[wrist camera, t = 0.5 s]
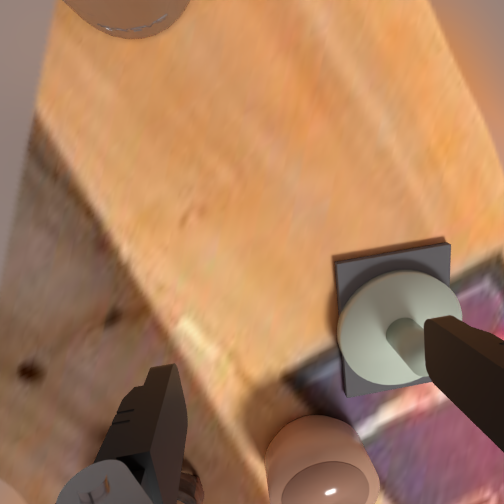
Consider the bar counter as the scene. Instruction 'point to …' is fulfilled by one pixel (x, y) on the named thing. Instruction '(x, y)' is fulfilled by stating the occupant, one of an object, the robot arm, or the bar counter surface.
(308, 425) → the bowl
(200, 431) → the bar counter surface
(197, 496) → the pottery mug
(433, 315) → the lid
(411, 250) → the mat
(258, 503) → the bar counter surface
